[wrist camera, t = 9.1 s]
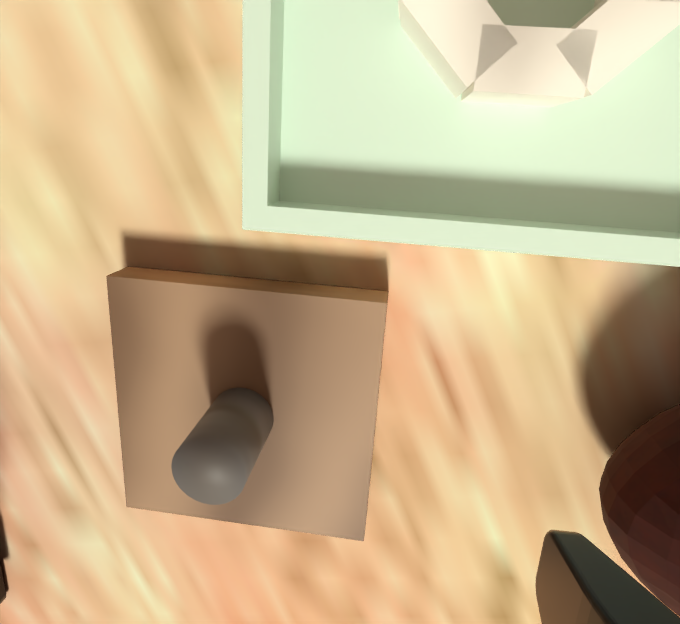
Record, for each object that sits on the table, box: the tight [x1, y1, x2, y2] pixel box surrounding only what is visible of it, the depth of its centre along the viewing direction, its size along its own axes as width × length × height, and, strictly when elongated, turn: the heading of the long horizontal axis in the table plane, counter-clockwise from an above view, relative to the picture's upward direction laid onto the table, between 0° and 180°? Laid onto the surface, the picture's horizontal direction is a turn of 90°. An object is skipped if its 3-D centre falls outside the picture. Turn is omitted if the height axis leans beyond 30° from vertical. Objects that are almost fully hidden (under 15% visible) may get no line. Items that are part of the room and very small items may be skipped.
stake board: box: [107, 267, 388, 541], centre depth 18 cm, size 10×10×5 cm
